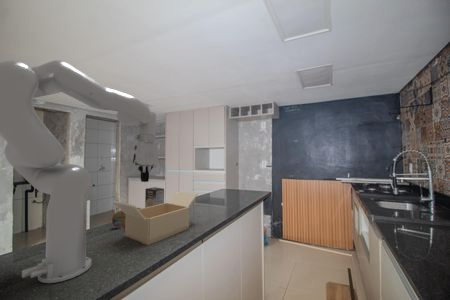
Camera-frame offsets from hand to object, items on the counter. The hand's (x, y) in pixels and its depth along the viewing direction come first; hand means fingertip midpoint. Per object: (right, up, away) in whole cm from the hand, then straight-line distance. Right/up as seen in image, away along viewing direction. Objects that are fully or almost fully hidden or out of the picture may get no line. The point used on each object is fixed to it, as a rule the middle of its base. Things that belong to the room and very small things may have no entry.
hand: (144, 181), depth 87 cm
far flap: (+13, -11, +15) cm, 23 cm away
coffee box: (-5, -24, +26) cm, 36 cm away
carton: (+5, -23, +3) cm, 24 cm away
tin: (-12, -24, +12) cm, 29 cm away
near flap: (-3, -10, -7) cm, 13 cm away
